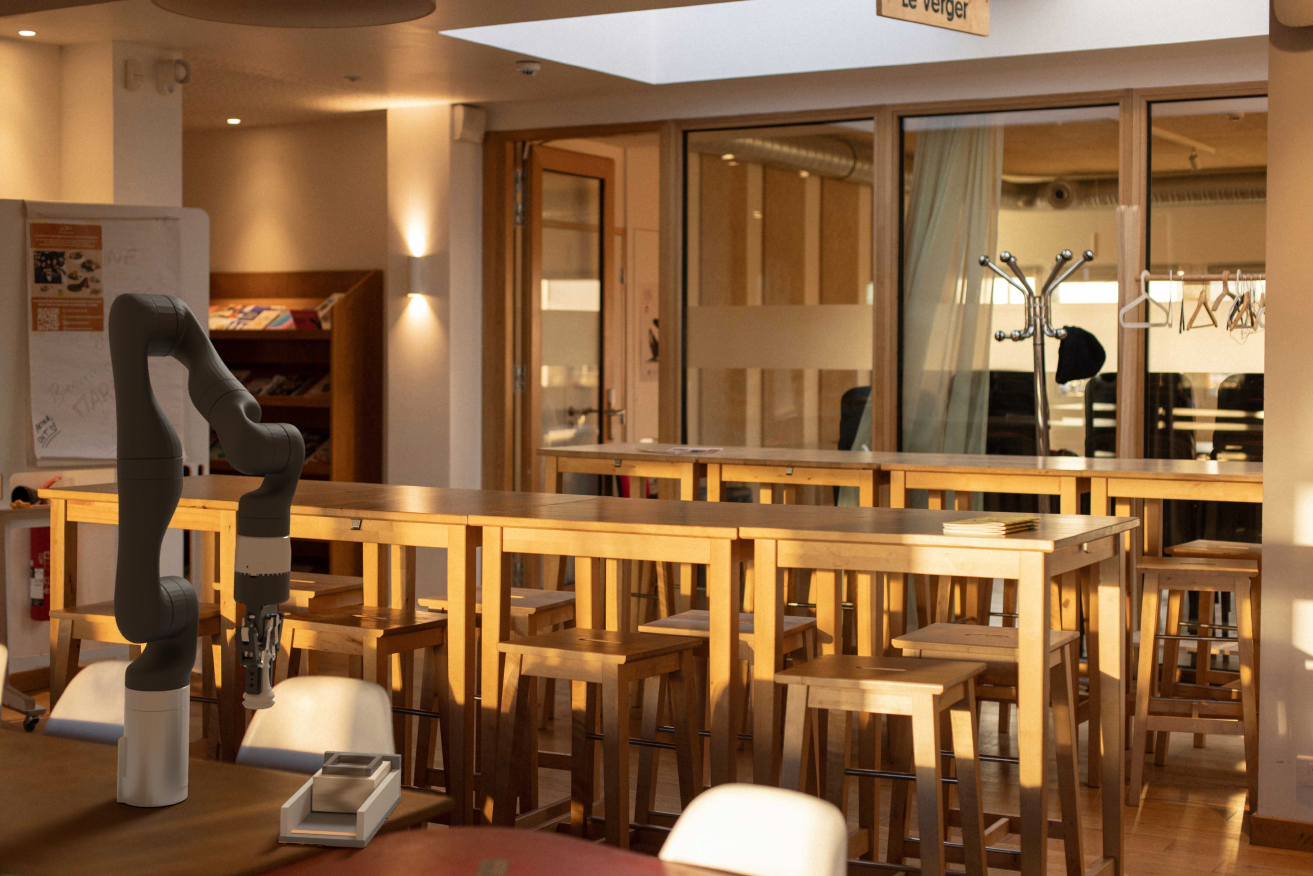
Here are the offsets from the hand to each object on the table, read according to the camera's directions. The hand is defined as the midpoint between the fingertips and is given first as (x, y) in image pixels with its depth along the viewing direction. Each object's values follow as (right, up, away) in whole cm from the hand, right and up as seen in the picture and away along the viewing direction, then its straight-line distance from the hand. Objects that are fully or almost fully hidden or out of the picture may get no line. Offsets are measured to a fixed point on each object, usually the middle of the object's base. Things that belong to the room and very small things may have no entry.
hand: (258, 690), depth 199 cm
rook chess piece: (0, -2, 0) cm, 2 cm away
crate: (+10, -19, +13) cm, 25 cm away
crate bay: (+10, -20, +9) cm, 24 cm away
